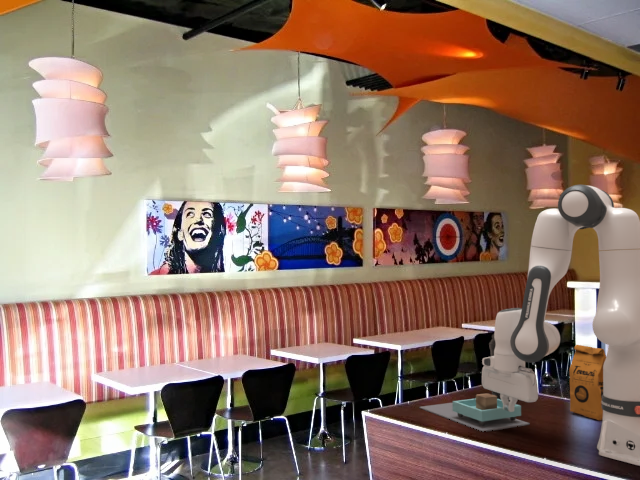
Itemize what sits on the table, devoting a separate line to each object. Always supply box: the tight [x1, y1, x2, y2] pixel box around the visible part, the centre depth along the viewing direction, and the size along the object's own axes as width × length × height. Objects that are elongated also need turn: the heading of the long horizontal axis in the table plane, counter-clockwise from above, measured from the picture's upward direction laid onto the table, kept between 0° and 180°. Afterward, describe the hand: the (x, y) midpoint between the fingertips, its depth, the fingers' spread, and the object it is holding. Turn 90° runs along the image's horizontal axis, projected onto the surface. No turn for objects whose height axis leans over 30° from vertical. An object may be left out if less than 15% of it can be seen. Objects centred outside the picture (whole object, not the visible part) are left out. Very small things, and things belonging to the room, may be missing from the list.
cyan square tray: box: [452, 397, 522, 425], centre depth 204 cm, size 14×15×5 cm
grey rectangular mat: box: [419, 402, 530, 433], centre depth 211 cm, size 32×18×1 cm, turn 26°
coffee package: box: [569, 344, 607, 421], centre depth 210 cm, size 10×12×22 cm
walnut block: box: [475, 392, 497, 410], centre depth 204 cm, size 4×4×4 cm
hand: (508, 410), depth 194 cm, fingers closed
